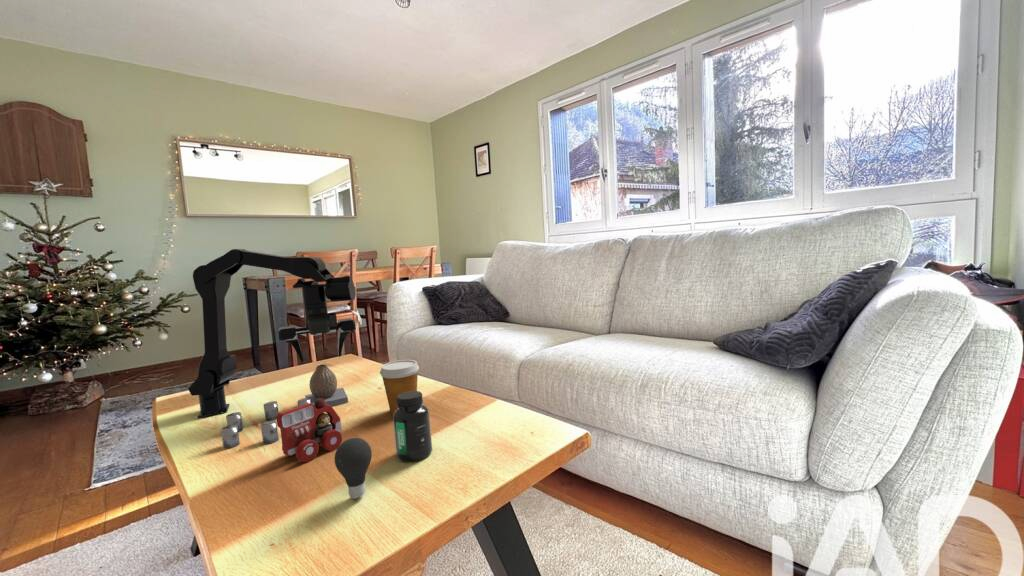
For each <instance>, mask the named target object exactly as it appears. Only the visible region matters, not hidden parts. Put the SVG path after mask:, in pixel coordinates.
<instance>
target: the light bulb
mask: <svg viewBox="0 0 1024 576" xmlns="http://www.w3.org/2000/svg"><path fill="white" fill-rule="evenodd" d="M372 453H373V452H372V447H371V446H370V444H369V443H368V442H367V441H366V440H365V439H364V438H359V437H351V438H347V439H345V440H344V441H342V442H341V444H340V446H339V447H338V448H337V449H336V451H335V453H334V464H335V468H336V469H337V471H338V472H339V474H340V475H341V477H343V478H344V479H345V480H344V481H345V484H346V485H347V488H348V495H349V497H350V498H351V499H354V500H356V501H357V500H360V499H361V497H363V496H364V494H365V493H366V486H365V482H366V476H367V475H366V474H367V471H368V469H369V467H370V464H371V462H372V455H373V454H372Z"/></svg>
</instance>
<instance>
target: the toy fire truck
mask: <svg viewBox="0 0 1024 576" xmlns="http://www.w3.org/2000/svg"><path fill="white" fill-rule="evenodd" d="M275 421H276V422H277V428H279V430H280V438H281V450H282V453H283V455H284V456H288V457H294V456H295V457H296V459H297V460H298V461H300V462H301V463H308V462H311V461H313V460H314V459H315V458H316V457H317V455H318V453H319V445H321V448H322V449H324V450H325V451H330V452H331V451H335V450H337V449H338V447H339V446H340V445H341V444H342V442H343V441H342V440H343V435H342V423H341V422H342V421H341V417H340V416H339V414H338V413H337V412H336V411H335V408H333V406H331V405H328V404H325V400H324V399H322V398H318V399H317V400H316V401H315V403H314V404H311V403H307V404H304V405H301V406H298V405H297V406H296V407H293V408H290V409H287V410H283V411H281V412H279V414H278V415H277V417H276V420H275Z"/></svg>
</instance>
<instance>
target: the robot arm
mask: <svg viewBox="0 0 1024 576" xmlns="http://www.w3.org/2000/svg"><path fill="white" fill-rule="evenodd" d="M243 266H250V267H256V268H263V269H269V270H275V271H282V272H285V273H287V274H290V275H292V276H294V277H298V279H297V282H295V283H294V284H293V285H292V288H293V289H301V293H302V305H303V311H304V313H303V314H304V319H305V320H304V321H305V326H302V327H296V325H287V326H280V327H279V329H278V332H277V333H278V341H285V344H288V343H290V345H292V347H293V348H294V350H295V352H296V354H297V356H298V358H299V360H300V362H301V363H302V364H304V356H303V352H302V349H301V345H300V342H299V338H298V335H306V334H309V335H311V336H315V335H318V334H329V333H330V331H335V330H337V356H338V357H339V358H340V357H341V355H342V352H343V347H344V344H345V343H344V342H345V340H346V338H347V336H348V335H350V334H352V331H356V329H357V327H356V321H355V320H354V319H352V318H351V317H348V318H340V319H338V318H337V317H338V316H337V313H336V312H330V313H329V312H328V311H329V310H328V303H327V301H328V300H330V302H331V303H334V302H335V303H338V302H349V301H351V302H353V301H355V299H356V295H357V290H356V286H355V284H354V281H353V278H352V275H345V276H338V277H335V276H334V275H333V274H332V273H331V271H329V269H328V268H326V262H324V260H323V259H322V258H320V257H317V256H297V257H296V256H295V257H294V256H292V257H291V256H283V255H276V254H272V253H271V254H270V253H264V252H257V251H251V250H247V249H244V248H243V249H242V248H232V249H230V250H229V251H227V252H226V253H225V254H223V255H221V256H220V257H217V258H215V259H213V260H212V261H209V262H208V263H206V264H203V265H199V266H197V267H196V269H194V270H193V271H192V280H193V284H194V288H195V290H196V292H197V293H198V295H199V297H200V298H201V301H202V320H203V321H202V322H203V323H202V324H203V341H204V342H203V345H204V352H203V355H202V358H201V360H200V362H199V364H198V370H197V371H198V372H197V378H196V379H195V380H194V381H193V383H191V385H189V387H188V392H189V394H190V395H191V396H192V397H193V396H198V403H199V412H198V414H197V415H196V417H197V419H199V418H204V417H209V416H214V415H219V414H225V413H227V412H228V410H229V409H230V403H227V400H226V392H225V386H227V385H229V384H230V382H231V378H232V377H234V375H235V373H236V370H238V366H237V355H236V354H234V355H231V354H230V352H229V351H228V349H227V347H228V346H227V330H226V329H227V325H226V303H225V299H226V296H227V293H228V292H229V289H230V285H231V281H232V280H231V279H232V277H233V276H234V275H235V274H237V273H238V272H239V271H240V270H241V269H242V268H243ZM305 279H306V280H305ZM310 279H311V280H310ZM323 282H325V283H323Z"/></svg>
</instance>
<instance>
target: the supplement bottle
mask: <svg viewBox="0 0 1024 576" xmlns="http://www.w3.org/2000/svg"><path fill="white" fill-rule="evenodd" d="M397 407H398V409H397V410H396V411H395V412H394V414H393V415H392V421H393V431H394V442H395V444H394V445H395V451H396V458H397V459H398V460H399V461H401V462H404V463H415V462H419V461H422V460H423V461H424V460H425V459H426V458H428V456H430V455H431V454H432V452H433V444H432V443H433V442H432V433H431V431H432V430H431V420H430V418H431V417H430V411H429V408H428V407H427V406H426V405H425V404H424V399H423V393H422V392H421V391H418V390H417V391H409V392H404V393H401V394H399V395H398V396H397Z"/></svg>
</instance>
